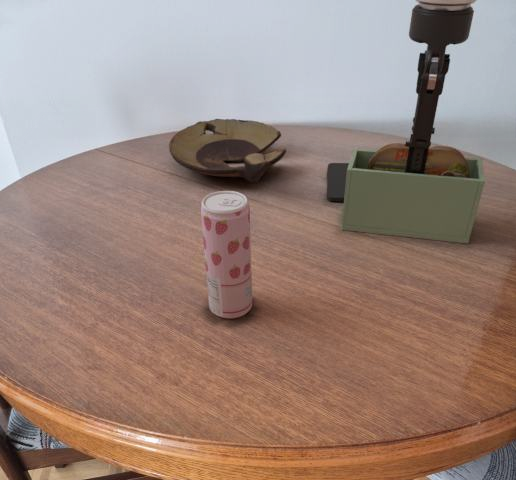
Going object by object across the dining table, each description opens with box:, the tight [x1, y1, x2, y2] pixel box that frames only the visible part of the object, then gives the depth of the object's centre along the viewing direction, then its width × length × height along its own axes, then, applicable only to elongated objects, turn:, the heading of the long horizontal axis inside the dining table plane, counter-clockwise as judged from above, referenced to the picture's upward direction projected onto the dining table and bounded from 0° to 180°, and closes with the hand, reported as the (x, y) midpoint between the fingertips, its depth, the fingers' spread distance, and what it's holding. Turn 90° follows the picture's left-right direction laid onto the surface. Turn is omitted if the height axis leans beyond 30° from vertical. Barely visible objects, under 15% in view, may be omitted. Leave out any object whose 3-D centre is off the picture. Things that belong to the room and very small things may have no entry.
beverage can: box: [200, 190, 253, 319], centre depth 67 cm, size 6×6×15 cm
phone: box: [326, 162, 349, 203], centre depth 99 cm, size 7×1×15 cm
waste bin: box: [341, 148, 486, 245], centre depth 85 cm, size 19×8×10 cm, turn 76°
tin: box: [367, 142, 470, 178], centre depth 82 cm, size 15×3×8 cm, turn 75°
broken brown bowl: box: [168, 118, 287, 183], centre depth 102 cm, size 22×30×8 cm
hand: (412, 182), depth 83 cm, fingers open, 3 cm apart
